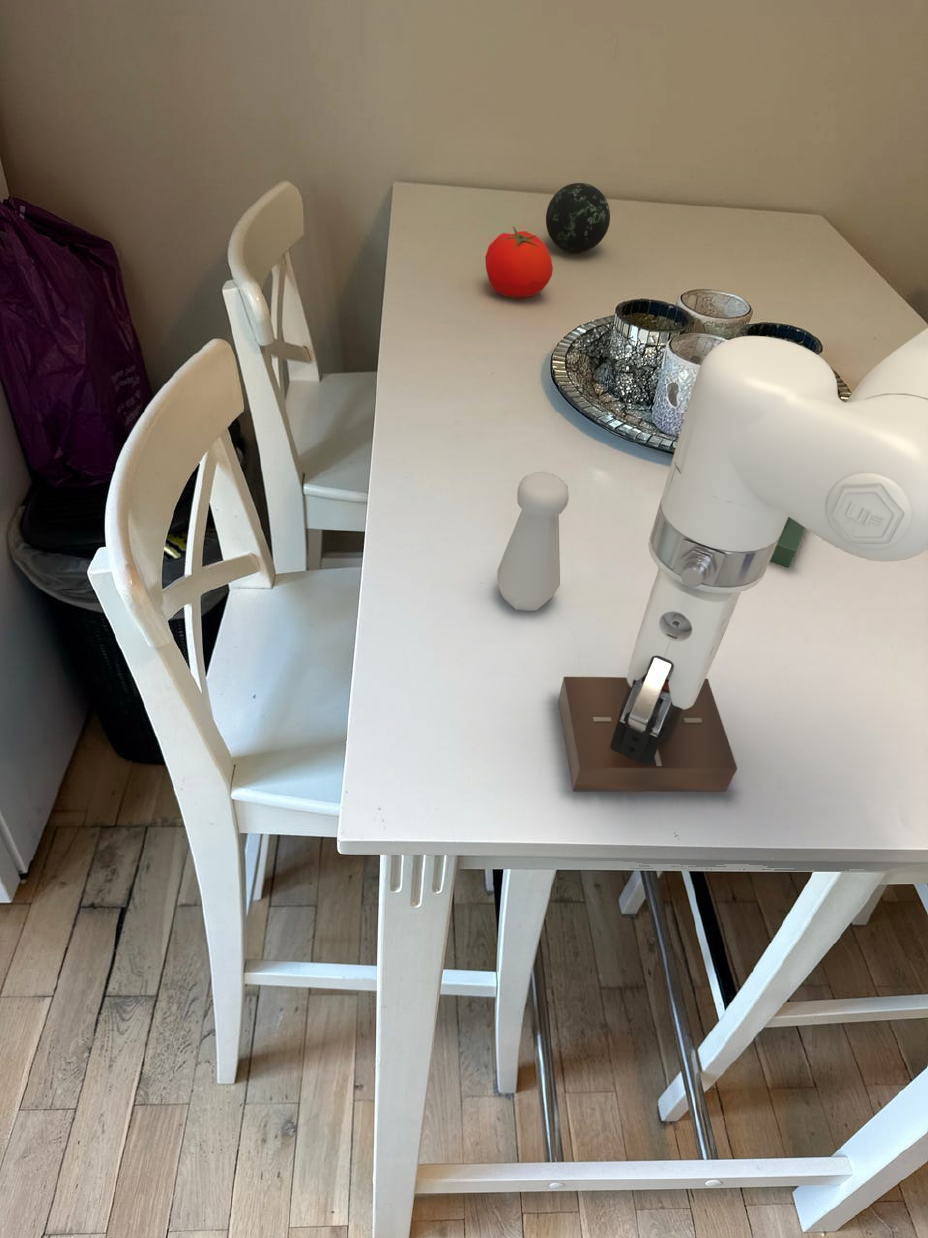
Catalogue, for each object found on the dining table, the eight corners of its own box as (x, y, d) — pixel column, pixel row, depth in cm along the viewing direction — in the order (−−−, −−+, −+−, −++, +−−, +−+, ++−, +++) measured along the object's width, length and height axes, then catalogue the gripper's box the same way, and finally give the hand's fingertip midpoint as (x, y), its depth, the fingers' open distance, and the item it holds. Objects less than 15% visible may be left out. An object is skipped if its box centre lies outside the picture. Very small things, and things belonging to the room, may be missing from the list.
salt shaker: (557, 620, 80) (582, 506, 71) (494, 616, 80) (511, 500, 71) (553, 578, 84) (576, 464, 75) (494, 573, 84) (510, 459, 75)
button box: (804, 525, 93) (818, 494, 90) (788, 567, 88) (802, 536, 85) (713, 494, 96) (723, 463, 93) (692, 533, 91) (703, 502, 88)
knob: (614, 698, 70) (627, 656, 66) (668, 698, 70) (684, 657, 67) (624, 742, 67) (638, 701, 63) (681, 743, 67) (698, 702, 64)
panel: (698, 701, 74) (708, 676, 72) (726, 791, 68) (738, 767, 66) (557, 700, 73) (563, 674, 71) (573, 791, 67) (580, 766, 65)
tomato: (503, 272, 133) (509, 215, 127) (561, 293, 130) (570, 235, 124) (468, 291, 127) (473, 232, 122) (528, 314, 124) (537, 254, 118)
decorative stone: (603, 241, 145) (615, 177, 138) (603, 266, 138) (616, 199, 131) (542, 234, 145) (551, 170, 138) (540, 258, 138) (549, 191, 131)
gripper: (736, 643, 49) (664, 815, 61) (799, 487, 60) (727, 658, 72) (610, 595, 51) (564, 770, 63) (694, 453, 62) (641, 624, 74)
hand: (651, 710), depth 67 cm, fingers open, 9 cm apart
